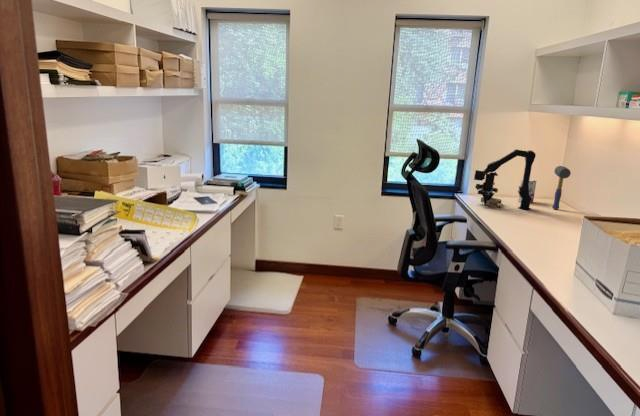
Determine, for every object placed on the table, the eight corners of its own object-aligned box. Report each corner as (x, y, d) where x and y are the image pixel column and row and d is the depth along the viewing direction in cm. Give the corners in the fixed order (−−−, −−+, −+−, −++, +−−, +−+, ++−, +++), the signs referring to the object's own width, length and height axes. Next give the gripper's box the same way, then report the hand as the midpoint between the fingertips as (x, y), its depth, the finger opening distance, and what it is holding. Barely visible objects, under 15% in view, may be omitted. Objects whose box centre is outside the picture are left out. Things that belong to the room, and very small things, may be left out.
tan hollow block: (492, 204, 306) (493, 198, 304) (500, 206, 301) (501, 200, 300) (487, 206, 301) (488, 199, 300) (496, 207, 297) (497, 201, 296)
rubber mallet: (564, 212, 294) (572, 168, 286) (552, 211, 295) (560, 167, 288) (558, 207, 306) (566, 165, 298) (546, 206, 307) (554, 164, 300)
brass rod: (483, 204, 305) (483, 200, 304) (485, 203, 307) (485, 199, 306) (498, 207, 298) (499, 203, 297) (500, 206, 300) (501, 202, 299)
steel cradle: (485, 200, 318) (486, 196, 318) (500, 203, 311) (500, 199, 310) (480, 201, 313) (481, 197, 312) (495, 204, 305) (495, 200, 305)
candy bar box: (527, 200, 323) (530, 179, 319) (533, 202, 319) (537, 180, 315) (517, 201, 318) (521, 180, 314) (523, 203, 314) (527, 181, 310)
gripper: (484, 178, 313) (481, 199, 317) (472, 180, 300) (469, 202, 304) (499, 180, 305) (496, 202, 309) (487, 183, 293) (484, 205, 297)
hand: (486, 203), depth 305 cm, fingers closed on brass rod, 3 cm apart
